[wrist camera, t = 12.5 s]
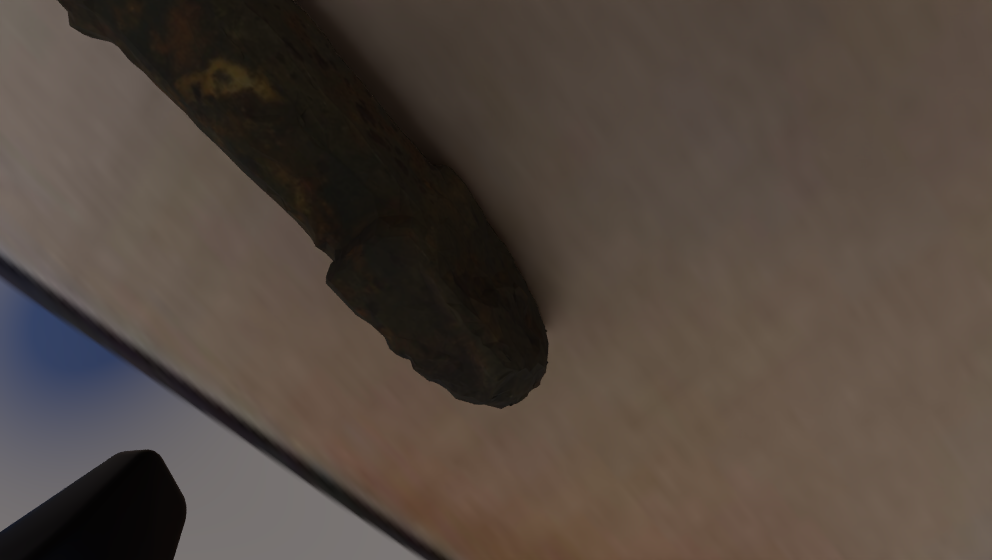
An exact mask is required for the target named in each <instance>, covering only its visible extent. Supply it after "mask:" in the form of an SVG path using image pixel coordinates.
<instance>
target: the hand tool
mask: <svg viewBox="0 0 992 560" xmlns="http://www.w3.org/2000/svg"><path fill="white" fill-rule="evenodd" d="M58 1H59V3H60V4H61V5H62V6H63V7H64V8H65V9H66V10H67V11H68V16H69V24H70V26H71V27H73V28H74V29H76V30H77V31H79V32H81V33H82V34H84V35H87V36H89V37H92V38H96V39H100V40H105V41H109V42H112V43H113V44H115V45H116V46H118V47H119V48H120V49H121V51H122V52H123V53H124V54H125V55H126V57H127V58H128V59H129V60H130V61H131V62H132V63H133V64H134V65H136V66H137V67H138V68H139V69H141V70H142V71H143V72H144V73H145V74H146V75H147V76H148V77H149V78H150V79H151V80H152V81H153V82H154V84H155V85H156V86H157V87H159V88H160V89H161V90H162V91H163V92H164V93H165V94H166V95H167V96H168V97H169V98H170V99H171V100H172V101H173V102H174V103H175V104H176V105H177V106H179V107H180V108H181V109H182V110H183V111H184V112H185V113H186V114H187V115H188V116H189V118H190V119H191V120H192V121H193V122H194V123H195V124H196V125H197V127H198V128H199V129H200V130H201V131H202V132H203V133H205V134H206V135H207V136H208V137H209V138H210V139H211V140H212V141H213V142H214V143H215V144H216V145H217V146H218V147H219V148H220V149H221V150H222V151H223V152H224V153H225V154H226V155H227V156H228V157H229V158H230V159H231V160H232V161H233V162H234V163H235V164H236V165H237V166H238V167H239V168H240V169H241V170H242V171H243V172H244V173H245V174H246V175H247V176H248V177H250V178H251V179H252V180H253V181H254V182H255V183H256V184H257V185H258V186H259V187H260V188H261V189H262V190H263V191H265V192H266V193H267V194H268V195H269V196H270V197H271V198H272V199H273V200H274V201H276V202H277V203H278V204H279V205H280V206H281V207H282V208H283V209H284V210H285V211H286V212H287V213H288V214H289V215H290V216H291V217H292V218H293V219H294V220H296V221H297V223H298V224H299V225H300V226H301V227H302V228H303V229H304V230H305V232H306V233H307V234H308V235H309V236H310V237H311V239H312V240H313V242H314V244H315V246H316V247H317V248H319V249H320V250H322V251H323V252H325V253H326V254H327V255H328V256H329V257H330V258H331V259H332V260H333V262H332V263H331V264H330V267H329V270H328V273H327V275H326V284H327V285H328V286H329V287H330V288H331V289H332V290H333V291H334V292H335V293H336V294H337V295H338V296H339V297H340V299H341V300H342V301H343V302H344V303H345V304H346V305H347V306H348V307H349V308H350V309H351V310H352V311H353V312H354V313H355V314H356V315H357V316H359V317H360V318H362V319H363V320H365V321H367V322H368V323H369V324H371V325H372V326H373V327H374V328H375V329H376V330H378V331H379V332H380V333H381V334H382V335H383V336H384V337H385V339H386V341H387V344H388V346H389V349H390V350H392V351H393V352H394V353H395V354H396V355H398V356H400V357H402V358H405V359H409V360H411V363H412V366H413V369H414V370H415V371H416V372H418V373H419V374H420V375H422V376H423V377H424V378H426V379H427V380H428V381H432V382H435V383H437V384H439V385H441V386H443V387H444V388H446V389H447V390H448V391H449V392H450V393H451V394H452V395H453V396H454V397H455V398H456V399H458V400H462V401H466V402H469V403H473V404H478V405H483V404H485V405H488V406H492V407H496V408H500V409H502V408H504V407H506V406H508V405H510V406H512V405H513V404H517V403H518V402H520V401H522V400H523V399H524V398H525V397H527V396H528V393H529V392H530V391H531V390H532V389H534V388H536V387H538V386H539V385H540V381H541V379H542V377H543V375H544V374H545V373H546V366H547V363H548V361H547V356H548V339H547V335H546V332H547V331H546V330H545V326H544V324H543V321H542V318H541V316H540V313H539V310H538V307H537V304H536V302H535V300H534V299H533V297H532V295H531V293H530V292H529V290H528V288H527V285H526V282H525V281H524V279H523V277H522V276H521V274H520V272H519V271H518V269H517V267H516V266H515V264H514V261H513V258H512V256H511V254H510V253H509V251H508V250H507V248H506V246H505V245H504V243H502V242H501V241H500V240H499V239H498V238H497V236H496V235H495V233H494V231H493V230H492V228H491V227H490V225H489V223H488V222H487V220H486V217H485V216H484V214H483V213H482V211H481V210H480V208H479V206H478V205H477V203H476V202H475V200H474V198H473V197H472V195H471V194H470V192H469V190H468V188H467V187H466V185H465V184H464V183H463V182H462V181H461V179H460V178H459V177H458V176H457V175H456V174H455V173H454V172H453V171H452V169H450V168H448V167H446V166H442V165H432V164H430V163H429V162H428V161H427V160H426V159H425V158H424V156H423V155H422V154H421V153H420V152H419V150H418V149H417V148H416V147H415V145H414V144H413V143H412V142H411V141H410V140H409V139H408V138H407V137H406V136H405V135H404V134H403V133H402V132H401V131H400V129H399V128H398V127H397V126H396V124H395V123H394V122H393V121H392V119H391V118H390V117H389V116H388V115H387V113H386V112H385V111H384V110H383V108H382V107H381V106H380V105H379V103H378V102H377V101H376V99H375V98H374V97H373V96H372V94H371V93H370V92H369V91H368V90H367V88H366V87H365V86H364V85H363V84H362V82H361V81H360V80H359V79H358V78H357V77H356V75H355V74H354V73H353V72H352V71H351V70H350V69H349V68H348V66H347V65H346V64H345V63H344V62H343V61H342V60H341V59H340V58H339V56H338V55H337V54H336V52H335V51H334V49H333V47H332V46H331V44H330V42H329V41H328V39H327V38H326V37H325V35H324V34H323V33H322V32H321V30H320V29H319V28H318V27H317V25H316V24H315V23H314V22H313V21H312V20H311V18H310V17H309V16H308V15H307V14H306V13H305V12H304V11H303V10H302V9H301V8H300V7H299V6H298V5H297V4H295V3H294V2H293V1H292V0H58Z"/></svg>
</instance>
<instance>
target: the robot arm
mask: <svg viewBox="0 0 992 560" xmlns="http://www.w3.org/2000/svg"><path fill="white" fill-rule="evenodd" d="M185 519H186V502H185V498H184V496H183V494H182V492H181V491H180V489H179V487H178V485H177V484H176V482H175V480H174V478H173V477H172V475H171V473H170V471H169V469H168V468H167V466H166V464H165V463H164V461H163V459H162V457H161V456H160V455H159V454H157V453H156V452H155V451H152V450H134V451H124V452H120V453H117V454H115V455H114V456H112V457H111V458H109V459H108V460H107V461H105V462H103V463H102V464H100V465H99V466H98V467H96V468H94V469H93V470H91V471H90V472H88V473H87V474H86V475H84V476H83V477H81V478H80V479H78V480H77V481H75V482H74V483H72V484H71V485H69V486H68V487H67V488H65V489H64V490H62V491H60V492H59V493H57V494H56V495H54V496H53V497H51V498H50V499H49V500H47V501H46V502H44V503H43V504H41V505H40V506H38V507H37V508H35V509H34V510H32V511H31V512H29V513H28V514H26V515H25V516H23V517H22V518H20V519H19V520H17V521H16V522H14V523H13V524H11V525H10V526H8V527H7V528H6V529H4V530H3V531H1V532H0V560H173V559H174V556H175V553H176V549H177V546H178V543H179V540H180V536H181V533H182V530H183V526H184V523H185Z"/></svg>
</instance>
